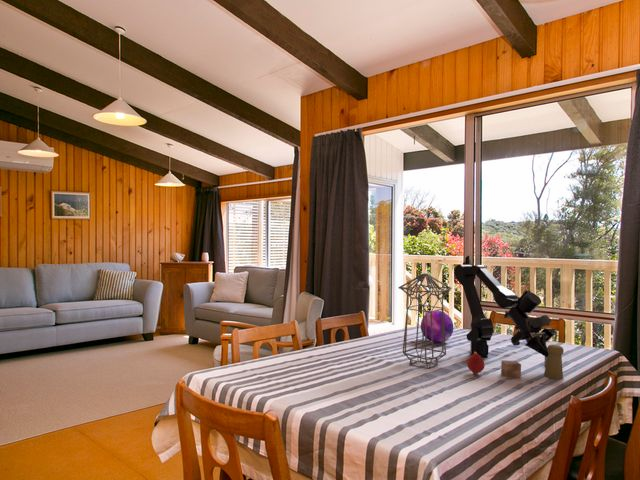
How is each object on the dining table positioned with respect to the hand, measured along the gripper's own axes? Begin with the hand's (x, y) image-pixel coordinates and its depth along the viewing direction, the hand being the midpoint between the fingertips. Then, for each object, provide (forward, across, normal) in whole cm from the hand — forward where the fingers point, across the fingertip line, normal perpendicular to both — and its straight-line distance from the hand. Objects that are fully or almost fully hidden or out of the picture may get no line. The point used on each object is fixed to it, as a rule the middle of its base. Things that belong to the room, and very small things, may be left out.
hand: (547, 356), depth 167 cm
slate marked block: (-1, +14, +11) cm, 18 cm away
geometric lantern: (-15, -33, +25) cm, 44 cm away
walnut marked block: (+2, -14, +8) cm, 16 cm away
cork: (+6, +1, +4) cm, 7 cm away
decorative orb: (-37, +2, +47) cm, 60 cm away
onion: (-3, -24, +13) cm, 27 cm away
